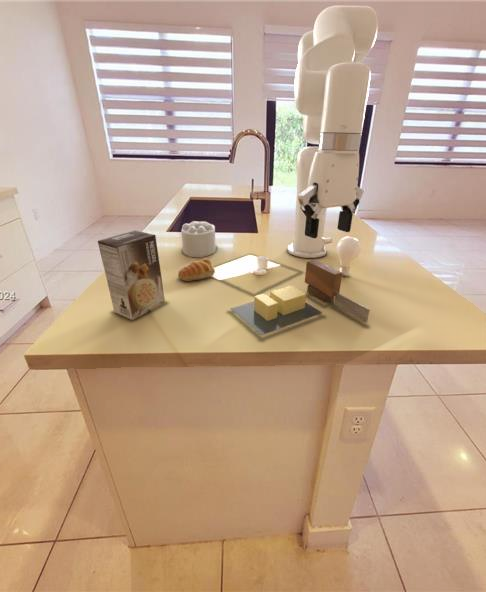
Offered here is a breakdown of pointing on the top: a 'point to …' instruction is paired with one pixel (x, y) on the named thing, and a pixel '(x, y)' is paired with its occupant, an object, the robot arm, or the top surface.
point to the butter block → (288, 299)
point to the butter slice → (265, 306)
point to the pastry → (197, 270)
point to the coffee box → (132, 272)
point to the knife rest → (319, 294)
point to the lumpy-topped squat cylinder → (198, 239)
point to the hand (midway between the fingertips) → (327, 233)
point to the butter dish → (281, 321)
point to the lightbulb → (347, 253)
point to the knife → (332, 287)
